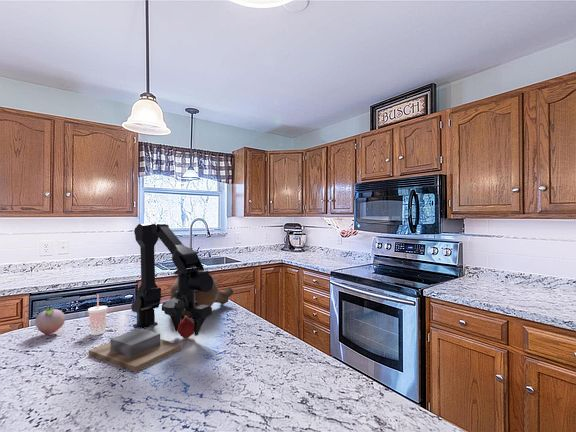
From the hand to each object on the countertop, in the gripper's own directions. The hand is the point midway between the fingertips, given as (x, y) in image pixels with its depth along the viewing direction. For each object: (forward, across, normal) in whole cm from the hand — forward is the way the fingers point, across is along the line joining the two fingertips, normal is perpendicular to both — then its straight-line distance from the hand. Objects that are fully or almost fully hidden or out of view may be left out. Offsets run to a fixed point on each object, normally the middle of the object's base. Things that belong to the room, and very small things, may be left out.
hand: (186, 332), depth 105 cm
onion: (+2, 0, 0) cm, 2 cm away
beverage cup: (+2, -33, -11) cm, 35 cm away
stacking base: (+2, -6, -15) cm, 16 cm away
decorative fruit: (+2, -46, -20) cm, 50 cm away
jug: (+2, -16, +25) cm, 30 cm away
